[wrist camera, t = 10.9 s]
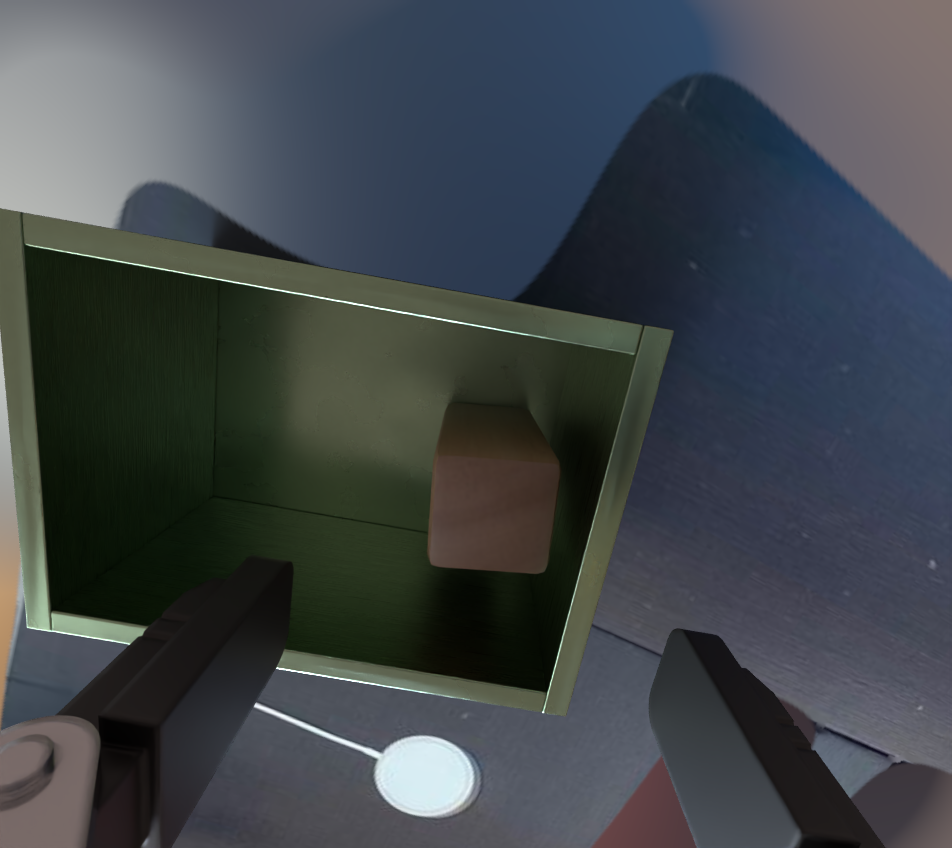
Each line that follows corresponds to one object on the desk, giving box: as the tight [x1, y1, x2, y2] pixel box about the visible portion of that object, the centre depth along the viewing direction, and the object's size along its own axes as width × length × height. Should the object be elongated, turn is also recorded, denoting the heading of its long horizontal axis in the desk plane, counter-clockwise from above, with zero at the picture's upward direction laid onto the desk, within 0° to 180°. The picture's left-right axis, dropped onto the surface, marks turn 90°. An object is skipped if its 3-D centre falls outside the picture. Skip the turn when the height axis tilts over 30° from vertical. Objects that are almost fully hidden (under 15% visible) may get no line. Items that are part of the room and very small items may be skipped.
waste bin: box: [0, 208, 674, 716], centre depth 18 cm, size 18×13×10 cm
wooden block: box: [427, 403, 562, 574], centre depth 18 cm, size 4×4×8 cm
